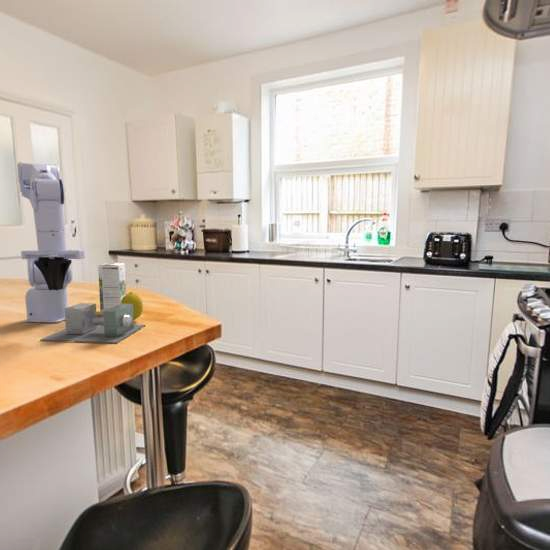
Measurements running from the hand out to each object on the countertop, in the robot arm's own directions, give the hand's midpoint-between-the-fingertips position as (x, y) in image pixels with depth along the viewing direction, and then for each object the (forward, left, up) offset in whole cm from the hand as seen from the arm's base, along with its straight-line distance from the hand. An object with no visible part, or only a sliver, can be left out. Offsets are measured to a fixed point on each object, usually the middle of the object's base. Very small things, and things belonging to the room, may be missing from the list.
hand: (55, 289), depth 90 cm
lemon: (+13, +11, -11) cm, 20 cm away
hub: (+6, 0, -10) cm, 12 cm away
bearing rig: (+14, 0, -10) cm, 17 cm away
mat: (+9, 0, -10) cm, 14 cm away
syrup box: (+3, +19, -11) cm, 22 cm away
